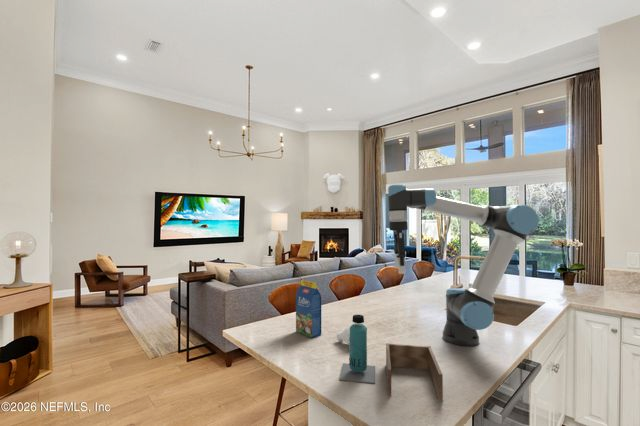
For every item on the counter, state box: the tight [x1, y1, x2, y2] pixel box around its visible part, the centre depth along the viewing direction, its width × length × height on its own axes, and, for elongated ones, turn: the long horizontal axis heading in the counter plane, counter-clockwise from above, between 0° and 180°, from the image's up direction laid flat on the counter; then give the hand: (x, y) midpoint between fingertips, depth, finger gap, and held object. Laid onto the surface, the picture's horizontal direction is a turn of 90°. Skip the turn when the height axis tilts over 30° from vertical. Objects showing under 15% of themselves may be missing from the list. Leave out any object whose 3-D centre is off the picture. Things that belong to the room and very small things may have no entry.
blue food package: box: [295, 279, 322, 339], centre depth 148 cm, size 6×12×25 cm, turn 42°
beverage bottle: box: [348, 314, 368, 372], centre depth 109 cm, size 6×7×20 cm
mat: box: [338, 363, 376, 385], centre depth 109 cm, size 12×12×1 cm
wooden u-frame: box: [385, 342, 444, 402], centre depth 103 cm, size 16×21×8 cm
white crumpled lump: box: [336, 326, 350, 349], centre depth 134 cm, size 6×8×12 cm
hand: (400, 271), depth 130 cm, fingers open, 13 cm apart
